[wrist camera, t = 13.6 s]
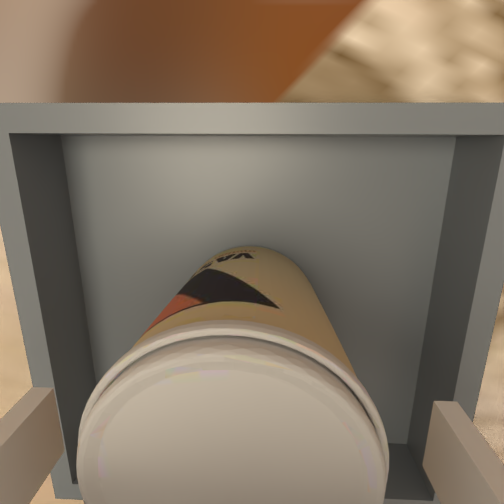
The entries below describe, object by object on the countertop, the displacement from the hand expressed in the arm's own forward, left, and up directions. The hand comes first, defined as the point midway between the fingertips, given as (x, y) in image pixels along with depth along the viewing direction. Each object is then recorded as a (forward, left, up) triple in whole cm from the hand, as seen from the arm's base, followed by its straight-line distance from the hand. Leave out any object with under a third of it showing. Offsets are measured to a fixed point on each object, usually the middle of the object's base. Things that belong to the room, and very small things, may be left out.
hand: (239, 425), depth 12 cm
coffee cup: (0, 0, -10) cm, 10 cm away
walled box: (0, 0, -11) cm, 11 cm away
